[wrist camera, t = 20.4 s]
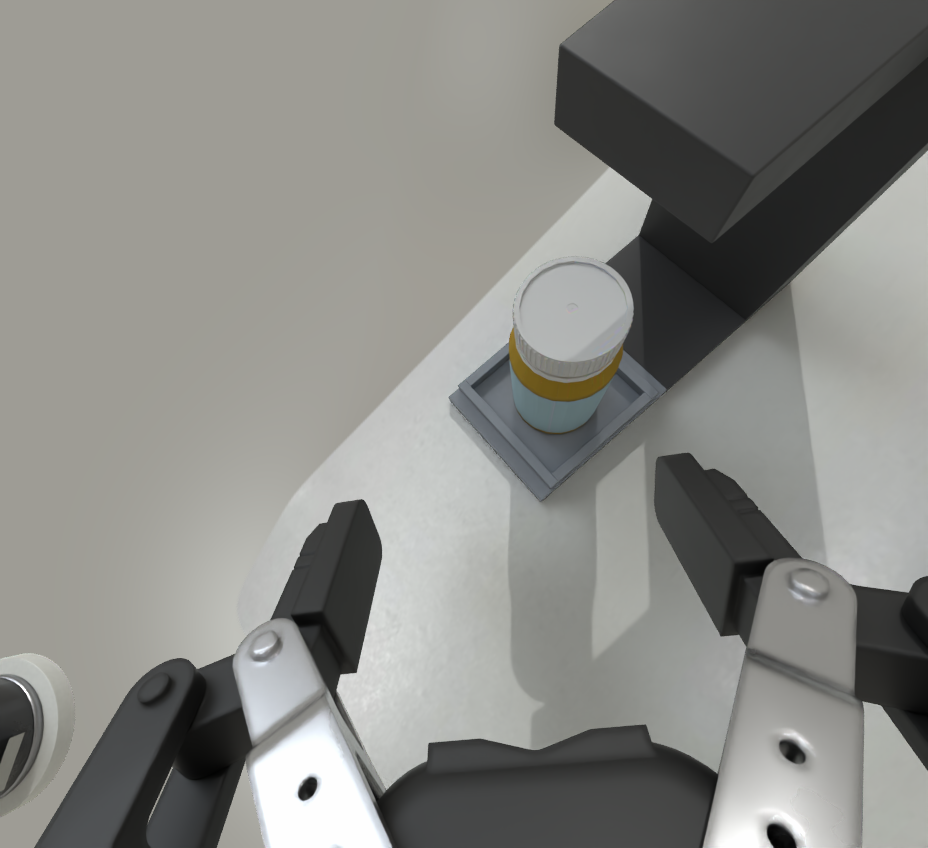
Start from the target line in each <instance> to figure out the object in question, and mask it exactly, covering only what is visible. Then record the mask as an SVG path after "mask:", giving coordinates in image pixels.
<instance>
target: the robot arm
mask: <svg viewBox="0 0 928 848" xmlns="http://www.w3.org/2000/svg"><path fill="white" fill-rule="evenodd" d="M654 506H655V512H656V516H657V519H658V522H659V524H660V526H661V528H662V530H663V531H664V533H665V535H666V537H667V539H668V541H669V542H670V544H671V546H672V548H673V550H674V551H675V553H676V555H677V557H678V559H679V561H680V562H681V564H682V566H683V568H684V570H685V572H686V573H687V575H688V577H689V579H690V581H691V582H692V584H693V586H694V588H695V590H696V592H697V593H698V595H699V597H700V599H701V601H702V603H703V604H704V606H705V608H706V610H707V612H708V613H709V615H710V617H711V619H712V621H713V623H714V624H715V626H716V628H717V630H718V632H719V634H720V635H721V636H731V635H740V637H741V638H742V640H743V642H744V644H745V645H746V652H745V656H744V660H743V665H742V669H741V674H740V678H739V682H738V687H737V691H736V696H735V700H734V704H733V709H732V713H731V718H730V722H729V727H728V731H727V735H726V740H725V744H724V748H723V753H722V757H721V761H720V766H719V770H718V774H717V773H716V772H714V771H713V770H712V769H710V768H709V767H707V766H706V765H704V764H703V763H701V762H699V761H698V760H696V759H694V758H693V757H691V756H689V755H687V754H685V753H682V752H680V751H678V750H676V749H673V748H670V747H667V746H664V745H661V744H657V743H652V742H651V739H650V736H649V732H648V729H647V726H646V725H634V726H623V727H611V728H599V729H590V730H587V731H585V732H583V733H580V734H578V735H575V736H573V737H570V738H568V739H565V740H563V741H561V742H558V743H556V744H553V745H551V746H548V747H546V748H543V749H540V750H529V749H524V748H520V747H515V746H511V745H506V744H502V743H497V742H493V741H488V740H484V739H471V740H459V741H447V742H435V743H429V745H428V760H427V762H424V763H422V764H420V765H418V766H416V767H415V768H413V769H411V770H410V771H408V772H407V773H406V774H404V775H403V776H402V777H400V778H399V779H398V780H397V781H396V782H395V783H393V784H392V785H391V786H390V787H389V788H388V789H387V790H386V788H385V786H384V784H383V783H382V781H381V779H380V777H379V775H378V773H377V771H376V770H375V768H374V766H373V764H372V762H371V760H370V758H369V756H368V754H367V752H366V750H365V748H364V746H363V744H362V742H361V739H360V737H359V735H358V733H357V731H356V729H355V727H354V725H353V723H352V721H351V718H350V716H349V714H348V712H347V710H346V708H345V706H344V704H343V702H342V700H341V697H340V695H339V693H338V692H337V690H336V689H337V685H338V681H339V677H340V674H349V673H357V668H358V664H359V659H360V655H361V650H362V646H363V641H364V637H365V632H366V628H367V623H368V619H369V614H370V610H371V605H372V601H373V596H374V592H375V587H376V583H377V578H378V574H379V569H380V565H381V560H382V545H381V540H380V537H379V534H378V532H377V529H376V527H375V524H374V522H373V519H372V516H371V514H370V511H369V509H368V506H367V504H366V502H365V501H364V500H362V499H361V500H354V501H347V502H340V503H336V504H335V505H334V507H333V509H332V512H331V514H330V517H329V519H328V522H327V523H322V524H319V525H318V526H317V527H316V528H315V529H314V531H313V532H312V533H311V534H310V535H309V536H308V537H307V538H306V541H305V543H304V545H303V548H302V550H301V552H300V557H298V559H297V561H296V563H295V566H294V570H292V572H291V575H290V577H289V579H288V582H287V584H286V586H285V588H284V591H283V593H282V595H281V597H280V600H279V602H278V604H277V606H276V609H275V611H274V613H273V616H272V618H271V620H270V621H268V622H266V623H263V624H262V625H260V626H258V627H257V628H256V629H254V630H253V631H252V632H251V633H249V634H248V635H247V637H246V638H245V639H244V640H243V641H242V642H241V644H240V645H239V647H238V649H237V651H236V653H235V654H233V655H231V656H229V657H226V658H224V659H222V660H219V661H217V662H214V663H212V664H209V665H207V666H205V667H202V668H200V669H196V667H195V666H194V665H193V664H192V663H191V662H190V661H189V660H187V659H183V658H177V659H172V660H169V661H166V662H164V663H162V664H160V665H158V666H156V667H155V668H153V669H152V670H150V671H149V672H148V673H146V674H145V675H144V676H143V677H142V678H141V679H140V680H139V681H138V682H137V683H136V684H135V685H134V686H133V687H132V688H131V690H130V691H129V693H128V694H127V695H126V697H125V699H124V700H123V702H122V704H121V705H120V707H119V709H118V710H117V712H116V714H115V715H114V717H113V718H112V720H111V722H110V724H109V725H108V727H107V728H106V730H105V732H104V733H103V735H102V737H101V738H100V740H99V742H98V743H97V745H96V747H95V748H94V750H93V751H92V753H91V755H90V756H89V758H88V760H87V762H86V763H85V765H84V766H83V768H82V770H81V771H80V773H79V775H78V776H77V778H76V780H75V781H74V783H73V785H72V786H71V788H70V790H69V791H68V793H67V794H66V796H65V798H64V799H63V801H62V803H61V805H60V806H59V808H58V809H57V811H56V813H55V814H54V816H53V818H52V819H51V821H50V823H49V824H48V826H47V828H46V829H45V831H44V833H43V834H42V836H41V837H40V839H39V841H38V842H37V844H36V846H35V847H34V848H217V845H218V842H219V839H220V836H221V833H222V830H223V827H224V824H225V821H226V818H227V815H228V812H229V808H230V805H231V803H232V800H233V797H234V793H235V791H236V787H237V784H238V782H239V779H240V776H241V772H242V769H243V766H244V763H245V760H246V767H247V772H248V776H249V781H250V785H251V789H252V794H253V798H254V802H255V806H256V811H257V815H258V820H259V824H260V828H261V832H262V837H263V841H264V846H265V848H862V821H863V756H864V708H863V703H862V701H864V702H868V703H873V704H878V705H881V706H882V707H883V709H884V710H885V711H886V713H887V714H888V716H889V717H890V718H891V720H892V721H893V723H894V724H895V726H896V727H897V728H898V730H899V731H900V733H901V734H902V735H903V737H904V738H905V740H906V741H907V742H908V744H909V745H910V747H911V748H912V749H913V751H914V752H915V754H916V755H917V756H918V758H919V759H920V761H921V762H922V763H923V765H924V766H925V768H926V769H927V770H928V576H926V577H922V578H920V579H918V580H917V581H915V583H914V584H913V585H912V587H911V589H910V591H909V593H906V592H899V591H891V590H884V589H877V588H869V587H862V586H856V585H852V584H849V583H848V582H847V581H846V580H845V579H844V578H843V577H842V576H841V575H839V574H838V573H836V572H835V571H834V570H832V569H830V568H828V567H826V566H824V565H822V564H820V563H817V562H814V561H811V560H807V559H803V558H802V557H801V556H800V555H799V554H798V553H797V552H796V551H795V549H794V548H793V547H792V546H791V545H790V544H789V543H788V541H787V540H786V539H785V538H784V537H783V536H782V535H781V533H780V532H779V531H778V530H777V529H776V528H775V526H774V525H773V524H772V523H771V522H770V521H769V520H768V518H767V517H766V516H765V515H764V514H763V513H762V512H761V510H758V507H757V506H756V505H755V504H754V502H753V501H752V500H751V499H750V498H748V497H747V494H746V493H745V492H744V491H743V490H742V489H741V487H740V486H739V485H738V484H737V483H736V482H735V481H734V480H733V479H731V478H730V477H728V476H726V475H724V474H723V473H721V472H719V471H718V470H716V469H710V470H704V469H703V468H702V467H701V466H700V464H699V463H698V462H697V461H696V459H695V458H694V457H693V456H692V455H691V454H690V453H682V454H675V455H668V456H661V457H658V458H657V460H656V470H655V493H654ZM43 725H44V720H43V710H42V705H41V702H40V699H39V697H38V694H37V693H36V691H35V689H34V688H33V687H32V686H31V684H30V683H29V682H27V681H26V680H25V679H23V678H21V677H19V676H16V675H12V674H1V675H0V799H1V798H3V797H5V796H6V795H8V794H9V793H10V792H12V791H13V790H14V789H15V788H16V787H17V786H18V785H19V784H20V783H21V782H22V781H23V779H24V778H25V777H26V775H27V774H28V772H29V771H30V769H31V767H32V766H33V764H34V762H35V759H36V757H37V755H38V752H39V749H40V745H41V741H42V736H43ZM171 767H173V769H172V772H171V774H170V776H169V778H168V781H167V783H166V785H165V787H164V790H163V792H162V794H161V796H160V798H159V801H158V803H157V805H156V807H155V810H154V812H153V814H152V816H151V818H150V820H149V823H148V819H149V816H150V814H151V811H152V809H153V807H154V805H155V802H156V800H157V798H158V796H159V794H160V791H161V789H162V787H163V785H164V783H165V780H166V778H167V776H168V774H169V771H170V769H171ZM147 824H148V825H147Z"/></svg>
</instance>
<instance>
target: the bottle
mask: <svg viewBox="0 0 928 848" xmlns="http://www.w3.org/2000/svg"><path fill="white" fill-rule="evenodd" d="M633 310H634V307H633V299H632V295H631V292H630V289H629V287H628V285H627V284H626V282H625V281H624V279H623V278H622V277H621V276H620V275H619V274H618V273H617V272H616V271H615V270H614V269H613V268H611V267H610V266H608V265H606V264H605V263H603V262H600V261H598V260H595V259H591V258H587V257H578V256H571V257H563V258H558V259H555V260H552V261H549V262H547V263H545V264H543V265H541V266H539V267H538V268H536V269H535V270H534V271H533V272H531V273H530V274H529V275H528V276H527V278H526V279H525V280H524V281H523V283H522V284H521V286H520V288H519V290H518V292H517V294H516V298H515V299H514V304H513V326H514V327H513V329H512V332H511V334H510V338H509V361H510V371H511V381H512V390H513V399H514V402H515V406H516V409H517V411H518V413H519V414H520V416H521V417H522V419H523V420H524V421H525V422H526V423H527V424H529V425H530V426H531V427H532V428H534V429H536V430H539V431H541V432H544V433H548V434H564V433H567V432H571V431H574V430H576V429H577V428H579V427H581V426H582V425H584V424H585V423H586V422H587V421H588V420H589V418H590V417H591V416H592V415H593V413H594V412H595V410H596V408H597V406H598V404H599V403H600V401H601V399H602V397H603V395H604V394H605V392H606V390H607V388H608V386H609V385H610V383H611V381H612V379H613V377H614V376H615V374H616V372H617V369H618V367H619V364H620V361H621V359H622V355H623V342H624V340H625V338H626V336H627V334H628V332H629V330H630V328H631V323H632V321H633V319H632V317H633V315H634V313H633Z"/></svg>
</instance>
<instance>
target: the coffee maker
mask: <svg viewBox="0 0 928 848" xmlns="http://www.w3.org/2000/svg"><path fill="white" fill-rule="evenodd" d="M554 124H555V126H557V127H558V128H559V129H560V130H562V131H563V132H564V133H566V134H567V135H569V136H570V137H571V138H572V139H574V140H575V141H577V142H578V143H579V144H580V145H582V146H583V147H584V148H586V149H587V150H588V151H590V152H591V153H592V154H594V155H595V156H596V157H598V158H599V159H600V160H602V161H603V162H604V163H606V164H607V165H608V166H609V167H611V168H612V169H613V170H615V171H616V172H617V173H619V174H620V175H621V176H623V177H624V178H625V179H627V180H628V181H629V182H631V183H632V184H633V185H635V186H636V187H637V188H639V189H640V190H641V191H643V192H644V193H645V194H647V195H648V196H649V197H651V198H652V202H651V204H650V207H649V210H648V212H647V215H646V218H645V220H644V223H643V226H642V228H641V231H640V234H639V235H638V236H637V237H636V238H635V239H634V240H632V241H631V242H630V243H629V244H628V245H627V246H625V247H624V248H623V249H622V250H621V251H620V252H618V253H617V254H616V255H615V256H614V257H613V258H611V259H610V260H609V261H608V262H607V263H605V264H606V265H608V266H610V267H611V268H613V269H614V270H615V271H616V272H617V273H618V274H619V275H620V276H621V277H622V278H623V279H624V281H625V282H626V284H627V285H628V287H629V289H630V292H631V295H632V299H633V307H634V310H633V313H634V315H633V317H632V319H633V321H632V323H631V328H630V330H629V332H628V334H627V336H626V338H625V340H624V342H623V355H622V359H621V361H620V364H619V367H618V369H617V372H616V374H615V376H614V377H613V379H612V381H611V383H610V385H609V386H608V388H607V390H606V392H605V394H604V395H603V397H602V399H601V401H600V403H599V404H598V406H597V408H596V410H595V412H594V413H593V415H592V416H591V417H590V418H589V420H588V421H587V422H586V423H585V424H584V425H582V426H581V427H579V428H577V429H576V430H574V431H571V432H567V433H564V434H548V433H544V432H541V431H539V430H536V429H534V428H532V427H531V426H530V425H529V424H527V423H526V422H525V421H524V420H523V419H522V417H521V416H520V414H519V413H518V411H517V409H516V406H515V402H514V399H513V390H512V381H511V371H510V361H509V343H507V344H506V345H505V346H504V347H503V348H502V349H500V350H499V351H498V352H497V353H496V354H495V355H493V356H492V357H491V358H490V359H489V360H487V361H486V362H485V363H484V364H483V365H482V366H480V367H479V368H478V369H477V370H476V371H475V372H473V373H472V374H471V375H470V376H469V377H468V378H466V379H465V380H464V381H463V382H462V383H460V384H459V385H458V387H459V389H458V390H456V391H455V392H454V393H453V394H452V395H451V396H449V399H450V401H451V402H452V403H453V404H454V406H455V407H456V408H457V409H458V410H459V411H460V412H461V413H462V415H463V416H464V417H465V418H466V419H467V420H468V421H469V422H470V424H471V425H472V426H473V427H474V428H475V429H476V430H477V431H478V432H479V434H480V435H481V436H482V437H483V438H484V439H485V440H486V441H487V443H488V444H489V445H490V446H491V447H492V448H493V449H494V450H495V452H496V453H497V454H498V455H499V456H500V457H501V458H502V459H503V461H504V462H505V463H506V464H507V465H508V466H509V467H510V468H511V470H512V471H513V472H514V473H515V474H516V475H517V476H518V477H519V478H520V480H521V481H522V482H523V483H524V484H525V485H526V486H527V487H528V489H529V490H530V491H531V492H532V493H533V494H534V495H535V496H536V498H537V499H538V500H539V501H540V502H541V501H542V500H544V499H545V498H546V497H547V496H548V495H549V494H550V493H552V492H553V491H554V490H555V489H556V488H557V487H558V486H559V485H561V484H562V483H563V482H564V481H565V480H566V479H567V478H569V477H570V476H571V475H572V474H573V473H574V472H575V471H576V470H578V469H579V468H580V467H581V466H582V465H583V464H584V463H586V462H587V461H588V460H589V459H590V458H591V457H592V456H593V455H595V454H596V453H597V452H598V451H599V450H600V449H601V448H603V447H604V446H605V445H606V444H607V443H608V442H609V441H611V440H612V439H613V438H614V437H615V436H616V435H617V434H618V433H620V432H621V431H622V430H623V429H624V428H625V427H626V426H628V425H629V424H630V423H631V422H632V421H633V420H634V419H635V418H637V417H638V416H639V415H640V414H641V413H642V412H643V411H645V410H646V409H647V408H648V407H649V406H650V405H651V404H652V403H654V402H655V401H656V400H657V399H658V398H659V397H660V396H662V395H663V394H664V393H665V392H666V391H667V390H668V389H669V388H671V387H672V386H673V385H674V384H675V383H676V382H677V381H679V380H680V379H681V378H682V377H683V376H684V375H685V374H686V373H688V372H689V371H690V370H691V369H692V368H693V367H694V366H696V365H697V364H698V363H699V362H700V361H701V360H702V359H703V358H705V357H706V356H707V355H708V354H709V353H710V352H711V351H713V350H714V349H715V348H716V347H717V346H718V345H719V344H720V343H722V342H723V341H724V340H725V339H726V338H727V337H728V336H730V335H731V334H732V333H733V332H734V331H735V330H736V329H737V328H739V327H740V326H741V325H742V324H743V323H744V322H745V321H747V320H748V319H749V318H750V317H751V316H752V315H753V314H754V313H756V312H757V311H758V310H759V309H760V308H761V307H762V306H764V305H765V304H766V303H767V302H768V301H769V300H770V299H772V298H773V297H774V296H775V295H776V294H777V293H778V292H779V291H781V290H782V289H783V288H784V287H785V286H786V285H787V284H789V283H790V282H791V281H792V280H793V279H794V278H795V277H796V276H797V275H798V274H799V273H800V272H801V271H802V270H803V269H804V268H805V267H806V266H807V265H809V264H810V263H811V262H812V261H813V260H814V259H815V258H816V257H817V256H818V255H819V254H820V253H821V252H822V251H823V250H824V249H825V248H826V247H827V246H828V245H829V244H830V243H832V242H833V241H834V240H835V239H836V238H837V237H838V236H839V235H840V234H841V233H842V232H843V231H844V230H845V229H846V228H847V227H848V226H849V225H850V224H851V223H852V222H853V221H854V220H856V219H857V218H858V217H859V216H860V215H861V214H862V213H863V212H864V211H865V210H866V209H867V208H868V207H869V206H870V205H871V204H872V203H873V202H874V201H875V200H876V199H877V198H879V197H880V196H881V195H882V194H883V193H884V192H885V191H886V190H887V189H888V188H889V187H890V186H891V185H892V184H893V183H894V182H895V181H896V180H897V179H898V178H899V177H900V176H902V175H903V174H904V173H905V172H906V171H907V170H908V169H909V168H910V167H911V166H912V165H913V164H914V163H915V162H916V161H917V160H918V159H919V158H920V157H921V156H922V155H923V154H924V153H926V152H927V151H928V0H614V1H613V2H612V3H611V4H609V5H608V6H607V7H606V8H604V9H603V10H602V11H601V12H599V13H598V14H597V15H596V16H594V18H592V19H591V20H589V21H588V22H587V23H586V24H585V25H583V26H582V27H581V28H580V29H578V30H577V31H576V32H575V33H573V34H572V35H571V36H570V37H569V38H567V39H566V40H565V41H564V42H562V43H561V44H560V47H559V58H558V74H557V89H556V105H555V121H554Z"/></svg>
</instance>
